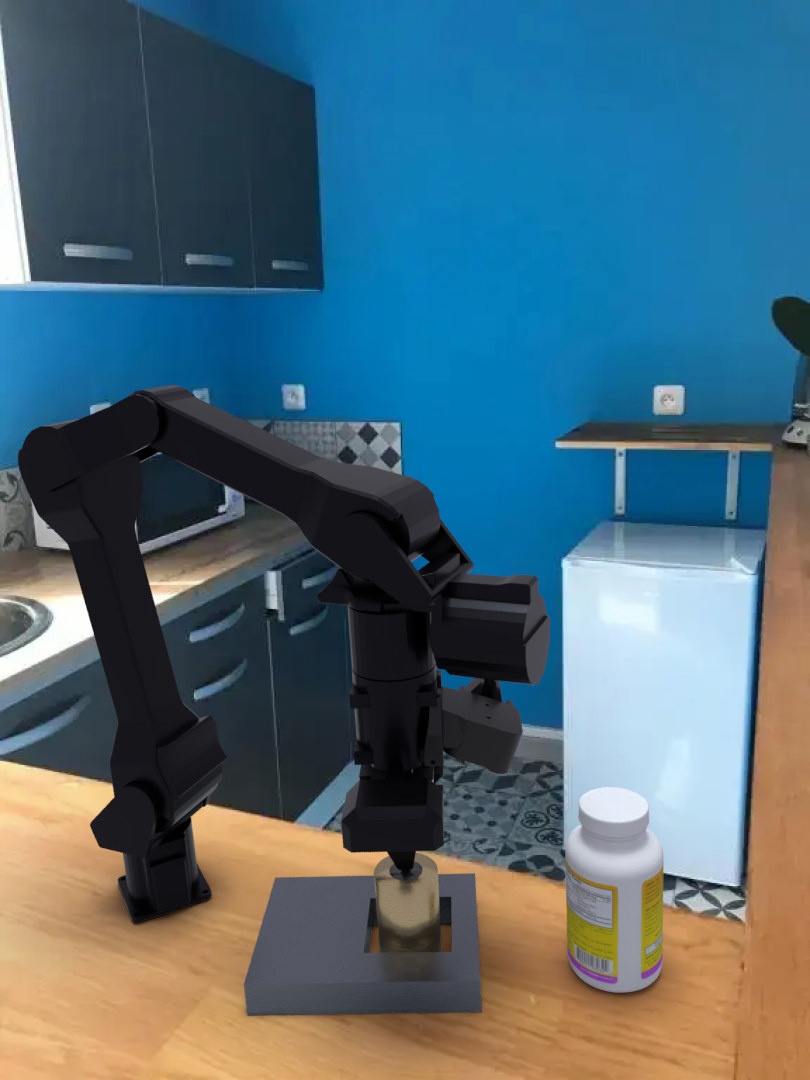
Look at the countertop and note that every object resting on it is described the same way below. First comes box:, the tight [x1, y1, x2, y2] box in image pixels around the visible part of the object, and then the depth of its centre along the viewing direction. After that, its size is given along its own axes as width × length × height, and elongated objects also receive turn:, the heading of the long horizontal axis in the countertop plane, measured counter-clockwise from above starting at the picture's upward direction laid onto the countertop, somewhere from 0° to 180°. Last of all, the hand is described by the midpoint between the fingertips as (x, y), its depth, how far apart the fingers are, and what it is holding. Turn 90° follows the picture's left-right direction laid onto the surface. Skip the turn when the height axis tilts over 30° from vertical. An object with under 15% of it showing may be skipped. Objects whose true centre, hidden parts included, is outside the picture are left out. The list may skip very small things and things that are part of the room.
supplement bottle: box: [564, 786, 664, 994], centre depth 65 cm, size 7×7×13 cm
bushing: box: [373, 852, 443, 953], centre depth 68 cm, size 5×5×7 cm
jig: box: [243, 872, 483, 1016], centre depth 69 cm, size 16×12×2 cm
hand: (405, 867), depth 67 cm, fingers closed
